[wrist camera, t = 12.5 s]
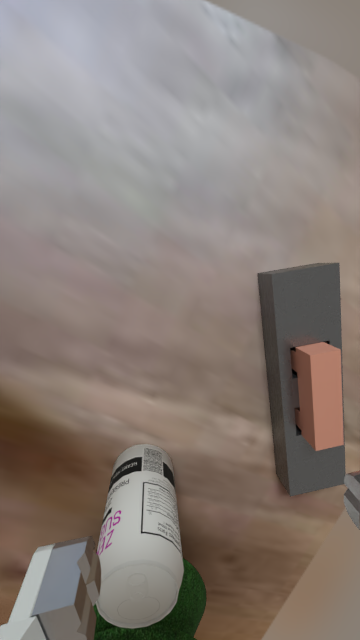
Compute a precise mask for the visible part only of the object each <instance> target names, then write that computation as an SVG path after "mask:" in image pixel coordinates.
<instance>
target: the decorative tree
mask: <svg viewBox="0 0 360 640" xmlns="http://www.w3.org/2000/svg"><path fill="white" fill-rule="evenodd" d="M183 566H184V573H183V578H182V583H181V586H180V589H179V593H178V598H177V603H176V604H175V606H174V607H173V609H172V610H171V612H170V613H169V614H168V615H166V616H165V617H164V618H163V619H161V620H160V621H158V622H156V623H154V624H151V625H149V626H147V627H140V628H133V629H132V628H123V627H118V626H116V625H113V624H111V623H109V622H107V621H106V620H105V619H104V618H103V617H102V616H101V615H100V614H99V612H98V609H97V606H96V603H95V605H94V606H93V608H94V611H95V614H96V617H97V618H96V626H95V633H94V640H196V639H195V638H193V637H194V634H195V632H196V630H197V627H198V625H199V623H200V620H201V618H202V616H203V613H204V610H205V606H206V589H205V585H204V582H203V580H202V578H201V576H200V574H199V573H198V571H197V570H196V569H195V568H194V567H193V566H192V565H191V564H190V563H189V562H188V561H187V560H185V559H184V558H183Z"/></svg>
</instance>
